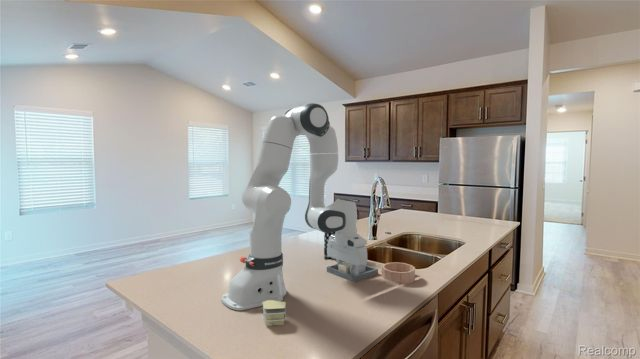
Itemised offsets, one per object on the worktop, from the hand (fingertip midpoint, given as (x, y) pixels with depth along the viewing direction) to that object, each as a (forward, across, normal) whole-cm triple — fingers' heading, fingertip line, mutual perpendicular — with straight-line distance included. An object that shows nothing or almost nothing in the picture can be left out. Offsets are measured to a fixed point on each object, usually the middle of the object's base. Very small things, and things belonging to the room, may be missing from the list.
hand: (346, 271), depth 134 cm
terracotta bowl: (+2, +15, +14) cm, 21 cm away
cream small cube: (+1, 0, 0) cm, 1 cm away
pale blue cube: (+1, 0, +7) cm, 7 cm away
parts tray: (+2, 0, +4) cm, 4 cm away
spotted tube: (+2, -22, +12) cm, 25 cm away
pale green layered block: (+2, +13, -42) cm, 45 cm away
